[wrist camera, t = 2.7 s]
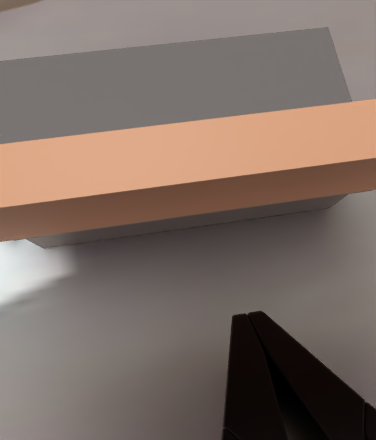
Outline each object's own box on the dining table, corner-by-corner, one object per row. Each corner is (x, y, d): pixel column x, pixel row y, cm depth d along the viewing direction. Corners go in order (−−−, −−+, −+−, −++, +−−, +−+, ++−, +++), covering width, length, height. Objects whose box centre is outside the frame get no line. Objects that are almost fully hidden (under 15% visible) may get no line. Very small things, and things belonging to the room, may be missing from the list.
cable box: (329, 207, 25) (375, 174, 19) (-100, 268, 23) (-194, 252, 17) (296, 88, 27) (328, 27, 22) (-91, 132, 25) (-170, 78, 20)
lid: (378, 167, 19) (382, 189, 19) (-4, 219, 17) (-2, 243, 17) (685, 62, 8) (698, 114, 8) (-306, 180, 6) (-300, 247, 6)
